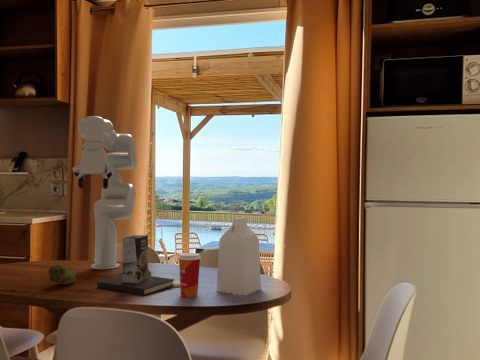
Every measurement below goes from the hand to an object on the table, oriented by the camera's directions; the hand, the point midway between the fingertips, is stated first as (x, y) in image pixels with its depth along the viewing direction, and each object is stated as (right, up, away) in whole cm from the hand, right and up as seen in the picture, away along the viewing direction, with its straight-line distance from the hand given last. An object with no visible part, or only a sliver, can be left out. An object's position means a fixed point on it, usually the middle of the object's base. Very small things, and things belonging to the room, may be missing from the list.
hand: (93, 188), depth 172 cm
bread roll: (+16, -37, +1) cm, 41 cm away
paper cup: (+43, -36, -29) cm, 63 cm away
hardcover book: (+22, -36, -17) cm, 45 cm away
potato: (-6, -36, -14) cm, 39 cm away
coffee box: (+22, -34, -17) cm, 43 cm away
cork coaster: (+36, -36, -13) cm, 53 cm away
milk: (+60, -37, -20) cm, 73 cm away
